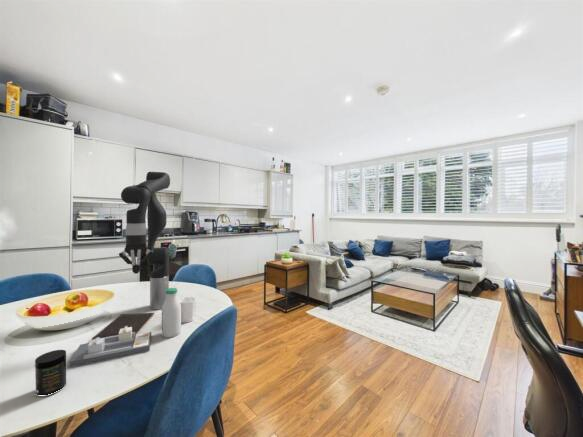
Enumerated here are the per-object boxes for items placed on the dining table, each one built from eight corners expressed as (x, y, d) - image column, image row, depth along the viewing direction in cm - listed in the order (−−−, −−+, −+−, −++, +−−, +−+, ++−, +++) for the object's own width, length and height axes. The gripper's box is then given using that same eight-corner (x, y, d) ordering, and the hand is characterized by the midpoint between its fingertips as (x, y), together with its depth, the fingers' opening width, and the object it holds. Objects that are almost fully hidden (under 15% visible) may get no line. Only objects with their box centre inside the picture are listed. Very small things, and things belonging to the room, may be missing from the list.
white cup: (189, 324, 118) (189, 303, 117) (175, 322, 119) (175, 302, 119) (198, 317, 125) (198, 297, 125) (185, 315, 127) (185, 296, 127)
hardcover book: (154, 316, 126) (154, 312, 126) (134, 340, 103) (134, 334, 103) (120, 318, 123) (120, 314, 123) (91, 343, 101) (91, 337, 100)
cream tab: (120, 337, 100) (120, 327, 100) (132, 335, 102) (132, 325, 102) (118, 342, 96) (118, 331, 96) (130, 340, 98) (130, 329, 98)
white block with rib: (91, 350, 91) (91, 338, 91) (104, 347, 93) (104, 336, 93) (88, 356, 87) (88, 343, 87) (102, 353, 89) (101, 341, 89)
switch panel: (80, 349, 95) (80, 341, 95) (151, 336, 106) (151, 329, 106) (68, 367, 84) (68, 359, 84) (149, 351, 95) (149, 343, 95)
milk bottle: (184, 331, 111) (185, 287, 110) (171, 339, 104) (171, 292, 103) (171, 328, 113) (171, 285, 113) (157, 336, 106) (157, 290, 105)
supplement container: (71, 386, 76) (70, 353, 75) (41, 401, 69) (40, 365, 69) (60, 379, 79) (59, 347, 78) (31, 393, 72) (30, 359, 72)
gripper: (154, 232, 112) (154, 269, 113) (119, 233, 106) (119, 272, 107) (153, 234, 106) (153, 273, 106) (116, 234, 100) (116, 276, 100)
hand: (136, 273), depth 107 cm, fingers closed
